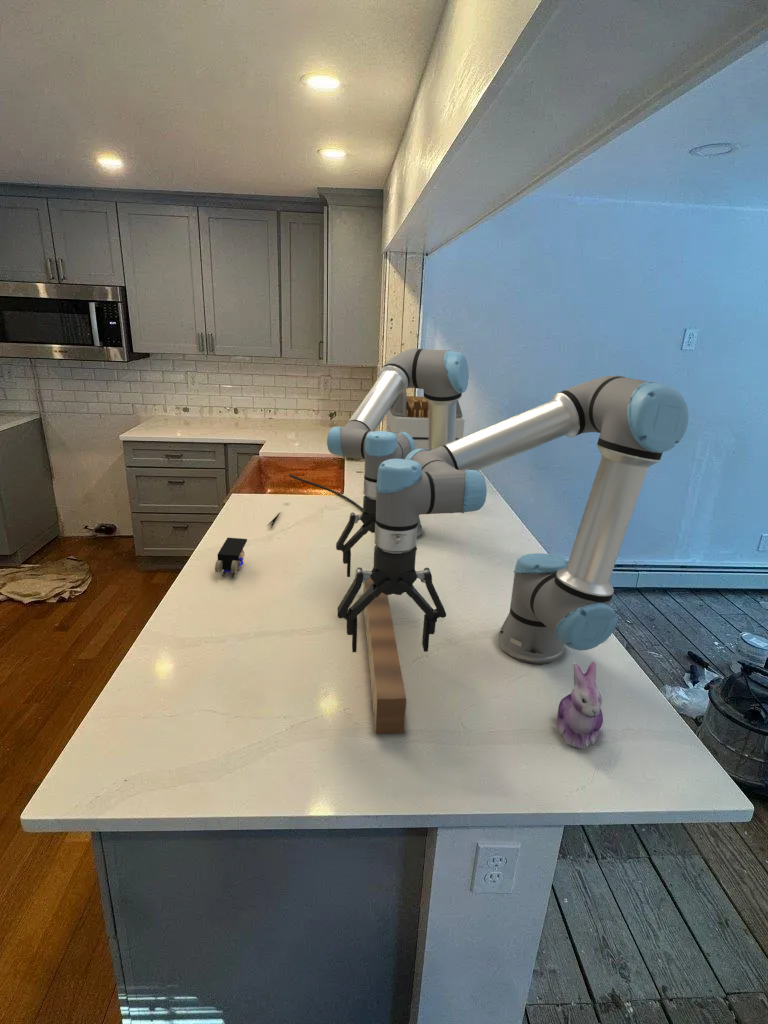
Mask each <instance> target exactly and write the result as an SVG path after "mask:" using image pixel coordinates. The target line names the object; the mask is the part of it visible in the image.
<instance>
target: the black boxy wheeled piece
mask: <svg viewBox="0 0 768 1024" xmlns="http://www.w3.org/2000/svg"><path fill="white" fill-rule="evenodd" d="M247 542H248V538H240V537H226V539H225V541H224V543H223V544H222V546H221V547H220V549H219V551H218V552H217V560H216V562H215V564H214V572H215V573H221V577H222V578H224V577H225V576H226V574H227V573H230V574H231V573H232V574H231V578H234V577H235V575H236V573H237V572H239V571H240V567H242V566H243V565H244V564H245V562H244V558H245V551H244V547H245V546H246V544H247Z"/></svg>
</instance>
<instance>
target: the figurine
mask: <svg viewBox="0 0 768 1024" xmlns="http://www.w3.org/2000/svg"><path fill="white" fill-rule="evenodd" d="M597 667H598V666H597V662H595V661H591V662H590V663H589V665H588V666H587V669H586V671H585V673H584V671H583V670H582V668H581V666H580V665H579V664H578V663H576V662H574V663H573V664H572V671H573V673H572V674H573V688H572V690H571V692H570V693H569V694H567V695H566V696H564V697H563V698H562V699H560V702H559V704H558V709H557V716H556V727H557V732H558V733H559V734H560V735H561V736H562V738H563V739H564V742H565V743H566V744H567V745H568V746H569V747H574V748H577V749H587V748H588V747H589V746H590V745H595V744H596V743H597V740H598V738H599V735H600V734H599V733H600V730H601V728H602V726H603V724H604V723H603V722H604V717H603V716H604V715H603V712H602V708H601V706H602V704H603V696H602V693H601V691H600V689H599V686H598V685H597V670H598V669H597Z"/></svg>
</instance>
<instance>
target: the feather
mask: <svg viewBox="0 0 768 1024" xmlns="http://www.w3.org/2000/svg"><path fill="white" fill-rule="evenodd" d="M280 514H281V512H279V513H278V514H276V516H275V517H274V518H273V519H272V520H271V521H270V522H269V523H267V526H269V525H270V529H272V528H273V526H274V525H275V522H276V521H277V519H278V517H279V515H280ZM267 526H266V527H267Z"/></svg>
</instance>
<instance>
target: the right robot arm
mask: <svg viewBox="0 0 768 1024" xmlns="http://www.w3.org/2000/svg"><path fill="white" fill-rule="evenodd" d="M688 424H689V408H688V404H687V403H686V401H685V398H684V396H683V395H682V394H681V392H679V391H678V390H677V389H676V388H674V387H672V386H669V385H665V384H663V383H659V382H658V381H649V380H643V379H637V378H631V377H626V376H621V375H605V376H601V377H596V378H593V379H591V380H588V381H584V382H582V383H579V384H577V385H574V386H571V387H569V388H566V389H564V390H562V391H559V392H557V393H555V394H554V395H553V396H552V397H551V400H550V401H547V402H546V403H542V404H540V405H538V406H535V407H533V408H531V409H529V410H526V411H523V412H521V413H519V414H516V415H514V416H511V417H508V418H506V419H504V420H502V421H499V422H497V423H494V424H492V425H490V426H487V427H484V428H482V429H479V430H477V431H475V432H473V433H470V434H467V435H465V436H463V438H460V439H458V440H455V441H453V442H451V443H448V444H446V445H443V446H441V447H438V448H435V449H433V450H428V449H415V450H413V451H411V452H410V453H409V454H408V455H407V456H406V458H405V459H389V460H386V461H384V462H382V463H381V464H380V466H379V469H378V476H377V485H376V522H375V533H374V545H375V546H374V547H373V567H372V569H371V570H364V569H363V568H362V567H361V566H360V567H357V568H356V569H355V575H354V579H353V581H352V583H351V584H350V585H349V588H348V589H347V590H346V593H345V594H344V596H343V598H342V600H341V601H340V603H339V605H338V606H337V610H336V614H337V616H336V617H337V618H338V619H344V620H346V635H347V636H352V638H351V650H352V653H357V652H358V651H357V649H358V648H357V646H358V616H359V615H360V614H361V613H362V612H364V609H365V608H366V607H367V606H368V605H369V604H370V603H371V602H372V601H373V600H374V599H375V598H377V597H378V596H379V595H380V594H381V593H384V594H385V595H388V596H391V595H396V596H403V594H406V595H407V596H408V597H409V598H410V599H412V601H414V603H415V604H416V605H417V606H418V607H419V609H421V611H422V612H423V613H424V614H423V627H422V639H421V645H422V649H423V652H425V653H427V652H429V644H430V643H429V642H430V635H434V634H435V633H436V623H437V622H438V619H439V618H442V619H444V618H446V617H447V612H446V608H445V607H444V605H443V602H442V601H441V598H440V596H439V594H438V591H437V589H436V588H435V585H434V583H433V575H432V571H431V569H430V568H429V567H424V568H423V570H416V556H417V550H416V548H415V546H416V547H417V542H418V538H417V526H418V517H419V518H420V515H438V514H439V515H440V514H441V515H442V514H464V513H470V512H471V513H472V512H477V511H479V510H481V509H482V508H483V507H484V505H485V503H486V501H487V492H488V491H487V490H488V489H487V482H486V479H485V477H484V475H483V473H482V472H481V470H484V469H486V468H489V467H491V466H494V465H497V464H498V463H501V462H503V461H507V459H508V460H509V459H511V458H513V457H515V456H518V455H520V454H523V453H526V452H527V451H530V450H532V449H535V448H537V447H539V446H542V445H544V444H547V443H549V442H551V441H553V440H557V439H559V438H562V437H563V436H565V437H567V438H574V437H576V436H579V435H581V434H585V433H598V434H599V437H598V439H597V443H596V447H597V449H598V451H599V453H600V454H601V458H600V461H599V464H598V466H597V471H596V473H595V477H594V479H593V481H592V486H591V489H590V492H589V495H588V498H587V500H586V501H587V502H586V504H585V507H584V511H583V514H582V517H581V520H580V524H579V526H578V529H577V533H576V535H575V539H574V542H573V544H572V545H573V546H572V548H571V552H570V554H569V557H568V560H567V558H564V557H562V556H559V555H555V554H552V553H551V554H550V553H537V552H536V553H528V554H523V555H522V556H520V557H519V558H517V560H516V564H515V568H514V570H513V573H514V574H513V575H514V576H513V582H512V590H511V598H510V607H509V612H508V614H507V616H506V618H505V620H504V622H503V623H502V626H501V627H500V629H499V632H498V635H497V638H498V639H497V643H498V646H499V648H500V649H501V650H502V651H503V653H505V654H506V655H509V656H510V657H511V658H513V659H516V660H518V661H520V662H524V663H529V664H534V665H535V664H536V665H537V664H538V665H543V664H544V665H545V664H551V663H554V662H556V661H558V660H560V659H561V658H562V657H563V654H564V650H565V646H567V648H570V649H572V650H575V651H588V650H592V649H594V648H596V647H598V646H599V645H602V644H604V643H605V642H607V640H608V639H609V638H610V637H611V636H612V634H613V633H614V631H615V629H616V626H617V624H618V623H617V622H618V617H617V614H616V611H615V609H614V608H613V607H612V606H611V605H610V604H611V601H612V599H613V595H614V592H615V589H614V587H613V585H612V583H611V582H610V580H611V576H612V574H613V571H614V567H615V565H616V562H617V560H618V557H619V554H620V551H621V549H622V546H623V542H624V539H625V537H626V534H627V531H628V527H629V525H630V522H631V519H632V516H633V513H634V510H635V507H636V504H637V501H638V499H639V495H640V493H641V490H642V488H643V484H644V481H645V478H646V475H647V474H648V473H647V472H648V469H650V467H652V466H653V465H656V464H657V463H660V461H661V459H662V457H663V453H665V452H668V451H670V450H672V449H674V448H675V447H676V444H679V443H680V442H681V441H682V439H683V437H684V436H685V434H686V431H687V428H688ZM368 578H371V580H372V581H373V583H372V585H371V586H370V588H369V589H368V590H367V591H366V592H365V593H364V594H363V593H362V595H361V596H360V597H359V598H358V599H357V600H356V601H355V602H354V600H355V598H356V597H357V595H358V593H360V592H359V591H361V588H362V587H363V583H365V582H366V581H367V579H368ZM417 579H419V580H420V582H421V583H422V584H425V587H426V589H427V591H428V594H429V597H430V598H431V601H432V602H433V605H434V606H435V608H433V607H432V606H431V604H430V603H429V602H428V601H427V600H426V599H425V598H424V597H423V595H422V594H421V593H420V592H419V591H418V590H417V588H416V587H415V586H414V585H413V584H414V583H415V582H416V581H417ZM353 602H354V603H353Z"/></svg>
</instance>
